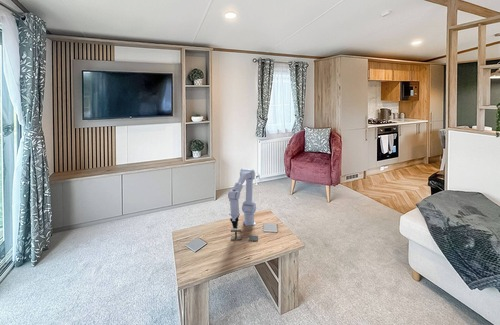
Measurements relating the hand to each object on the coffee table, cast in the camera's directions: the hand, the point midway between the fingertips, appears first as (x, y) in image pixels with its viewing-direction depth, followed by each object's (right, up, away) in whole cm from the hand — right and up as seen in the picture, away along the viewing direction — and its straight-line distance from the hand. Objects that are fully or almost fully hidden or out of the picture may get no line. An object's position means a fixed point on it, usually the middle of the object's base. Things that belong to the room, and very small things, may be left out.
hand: (235, 225), depth 181 cm
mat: (+12, -9, +1) cm, 15 cm away
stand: (0, -9, +2) cm, 10 cm away
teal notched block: (0, -1, 0) cm, 1 cm away
